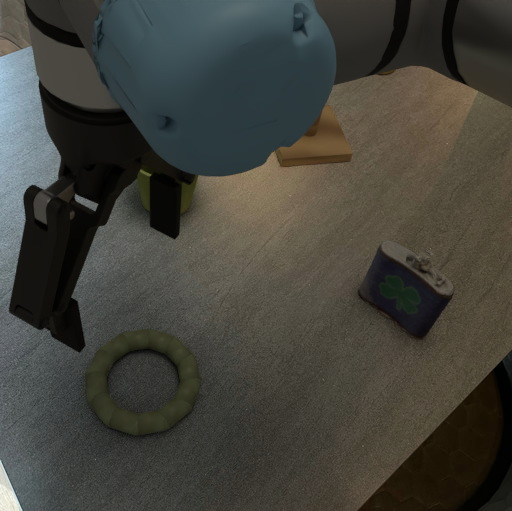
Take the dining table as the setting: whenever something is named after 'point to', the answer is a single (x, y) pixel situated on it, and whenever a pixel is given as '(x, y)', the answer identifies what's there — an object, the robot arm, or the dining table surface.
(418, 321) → the flask
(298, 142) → the post
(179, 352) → the ring
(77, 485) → the dining table surface
